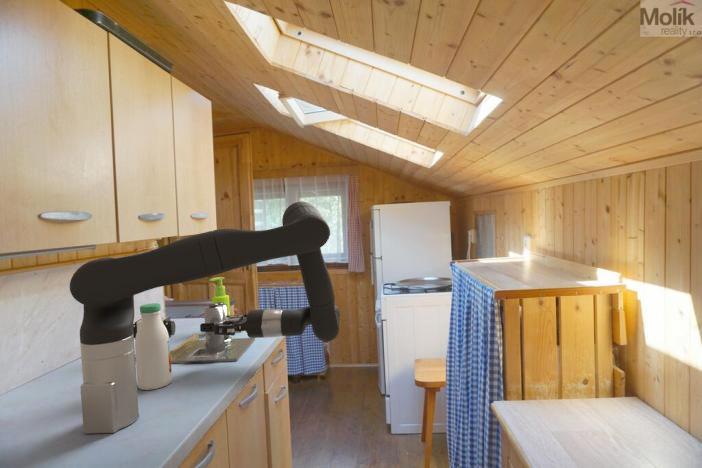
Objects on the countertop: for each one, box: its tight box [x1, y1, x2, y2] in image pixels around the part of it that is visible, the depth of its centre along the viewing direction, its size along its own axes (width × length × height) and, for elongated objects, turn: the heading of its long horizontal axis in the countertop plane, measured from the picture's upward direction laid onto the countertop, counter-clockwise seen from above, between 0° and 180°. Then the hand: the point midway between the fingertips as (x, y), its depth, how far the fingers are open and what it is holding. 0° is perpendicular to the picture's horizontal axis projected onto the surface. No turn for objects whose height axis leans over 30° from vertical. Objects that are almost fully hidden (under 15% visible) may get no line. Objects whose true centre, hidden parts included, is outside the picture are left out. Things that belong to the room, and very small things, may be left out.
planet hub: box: [203, 302, 225, 353], centre depth 113 cm, size 5×5×13 cm
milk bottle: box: [134, 302, 173, 391], centre depth 102 cm, size 8×8×20 cm
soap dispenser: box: [208, 276, 231, 316], centre depth 148 cm, size 6×7×20 cm
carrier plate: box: [170, 302, 256, 364], centre depth 127 cm, size 21×20×14 cm
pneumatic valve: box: [133, 316, 176, 340], centre depth 126 cm, size 6×12×12 cm, turn 97°
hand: (204, 325), depth 113 cm, fingers closed on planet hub, 4 cm apart
